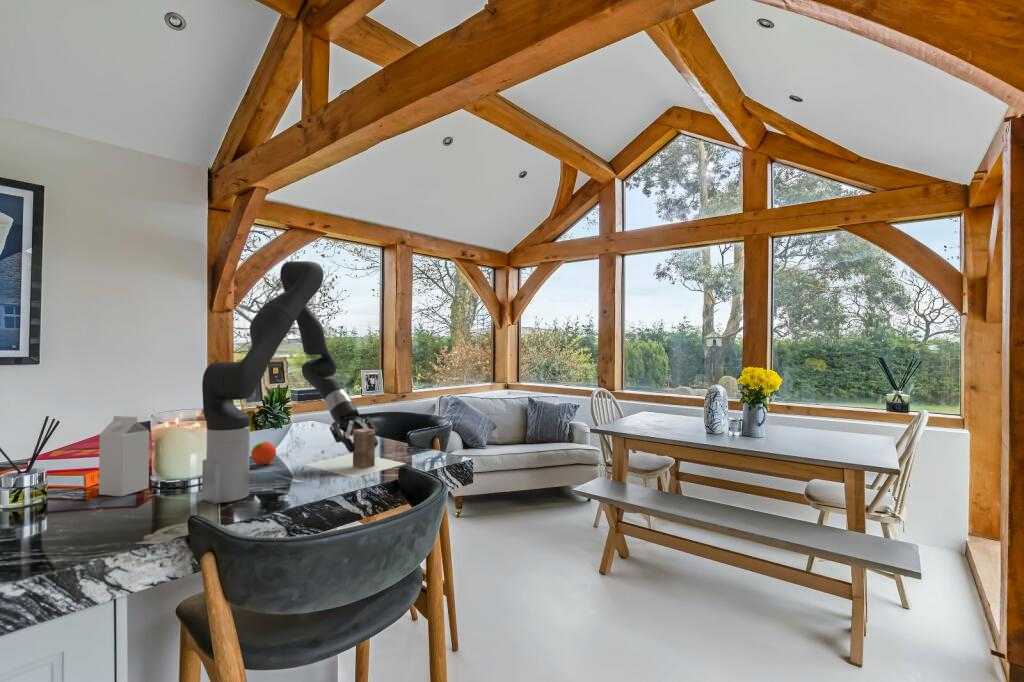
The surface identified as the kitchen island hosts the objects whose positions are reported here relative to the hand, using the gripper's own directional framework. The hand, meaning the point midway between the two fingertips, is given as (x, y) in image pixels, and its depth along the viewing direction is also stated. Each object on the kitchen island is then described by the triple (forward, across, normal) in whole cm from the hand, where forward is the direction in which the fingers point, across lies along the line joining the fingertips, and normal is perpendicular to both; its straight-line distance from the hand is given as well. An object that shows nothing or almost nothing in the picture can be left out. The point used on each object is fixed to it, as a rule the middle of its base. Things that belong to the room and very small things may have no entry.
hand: (364, 448), depth 151 cm
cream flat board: (+1, 0, +7) cm, 7 cm away
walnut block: (+4, 0, +4) cm, 5 cm away
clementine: (-16, -16, +24) cm, 33 cm away
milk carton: (-16, -51, +25) cm, 59 cm away
